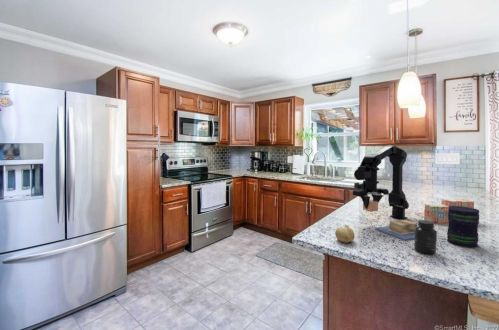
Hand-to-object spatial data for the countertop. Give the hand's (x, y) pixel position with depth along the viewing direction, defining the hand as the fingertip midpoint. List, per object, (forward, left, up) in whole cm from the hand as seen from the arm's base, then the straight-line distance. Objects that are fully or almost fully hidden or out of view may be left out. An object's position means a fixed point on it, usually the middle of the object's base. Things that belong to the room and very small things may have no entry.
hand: (370, 208), depth 124 cm
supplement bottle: (+6, +33, -9) cm, 35 cm away
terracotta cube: (0, 0, -1) cm, 1 cm away
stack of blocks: (-46, +9, -10) cm, 47 cm away
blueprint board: (-6, +14, -9) cm, 18 cm away
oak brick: (-6, +14, -8) cm, 17 cm away
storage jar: (-17, +32, -9) cm, 37 cm away
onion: (+28, +14, -10) cm, 33 cm away
